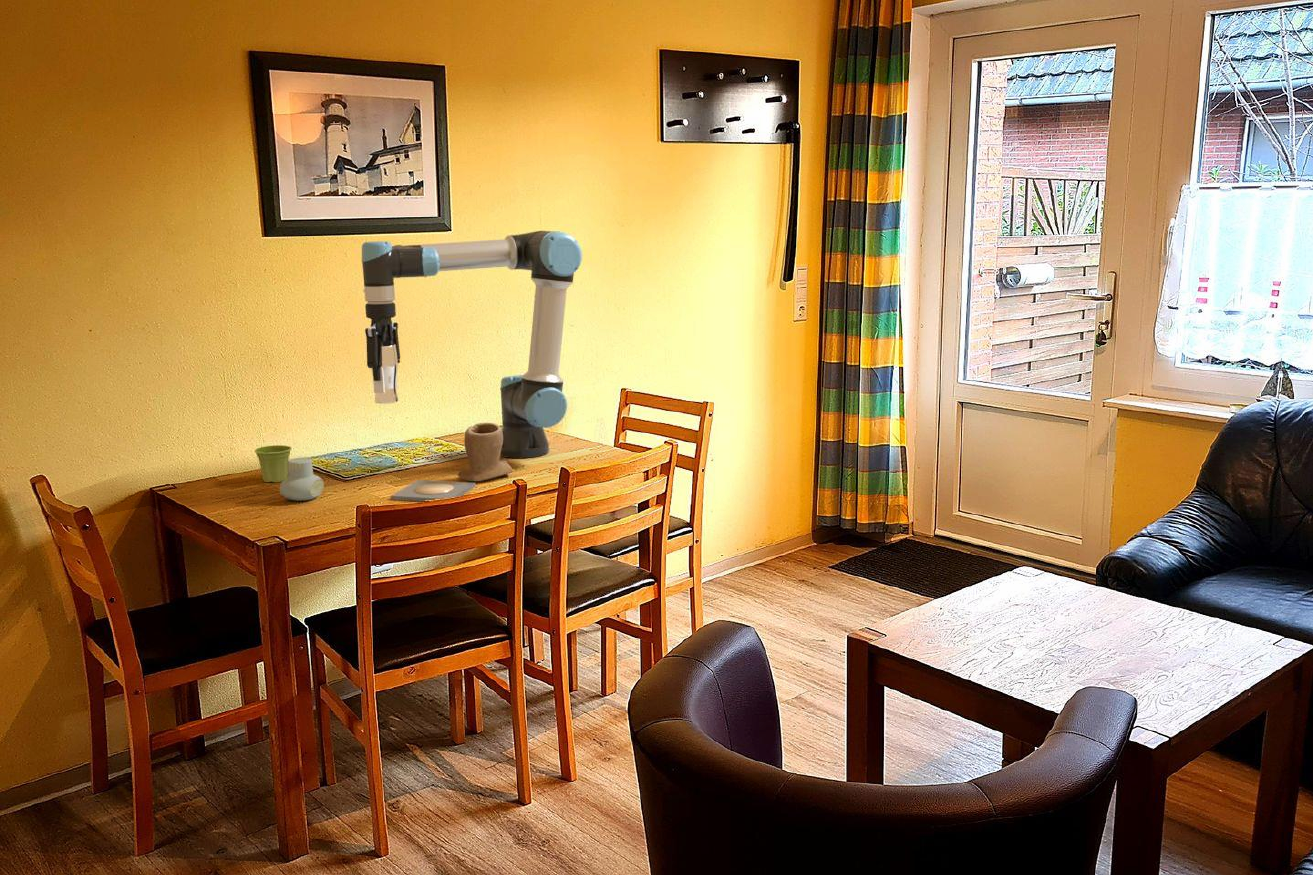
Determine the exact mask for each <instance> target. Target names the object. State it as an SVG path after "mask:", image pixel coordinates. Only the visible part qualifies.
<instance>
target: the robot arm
mask: <svg viewBox="0 0 1313 875" xmlns="http://www.w3.org/2000/svg"><path fill="white" fill-rule="evenodd" d="M582 259H583V254H582V248H581V246H580V244H579V241H577V240H576V238H575V237H574V236H572V235H571V234H569V233H566V232H562V231H551V230H550V231H549V230H537V231H531V232H526V233H520V234H511V235H507V236H505V238H504V239H490V240H472V241H458V242H455V241H454V242H442V243H441V242H439V243H429V244H428V243H423V244H410V245H401V244H396V245H393V246H392V243H391V242H390V241H388V240H387V241H386V240H381V241H380V240H377V241H375V240H374V241H365V242H363V243H362V245H361V264H362V275H363V293H364V301H365V302H367V303H365V307H364V308H365V317H366V318H367V319H370V320H371V321H370V327H369V328H368V327H367V328H365V330H364V334H365V339H366V366H367V367H368V369H371V368H372V369H373V375H372V379H373V380H372V383H373V393H374V394H375V393H385V385H384V370H383V368H381V365H382V346H391V345H392V343H394V344H396V351H397V359H398V364H400V362H401V352H400V341H399V332H398V328H399V324H398V322H393V321H392V318H395V317H396V315H397V313H396V312H397V311H396V310H397V308H396V303H395V302H394V301H396V294H395V282H394V279H399V278H401V279H402V278H421V277H422V278H427V277H434V276H437V274H438V273H439V272H447V271H448V272H449V271H460V270H461V271H463V270H464V271H465V270H476V269H477V270H478V269H489V268H491V269H492V268H508V270H511V271H513V270H524V271H531V276H530V279H531V281H532V282H533V284H534V285H535V291H534V301H533V302H534V303H533V314H532V322H531V323H532V324H531V334H530V345H529V356H528V368H527V369H528V370H527V371H526V372H525V373H524V374H520V375H519V374H517V375H511V376H505V377H502V378H501V380H500V389H499V390H500V401H501V402H500V404H501V420H502V427H501V429H502V432H503V445H502V448H501V453H500V457H504V458H511V459H512V458H513V459H522V458H523V459H524V458H525V459H526V458H527V459H528V458H535V457H541V456H544V455H547V454H548V453H549V452H550V444H549V440H548V438H547V435H546V432H545V429H549V428H552V427H554V426H556V425H558V424H559V423H560V422H561V421H562V420H563V419H564V417H565V416H566V413H567V410H568V402H567V398H566V396H565V394H564V393H563V388H564V387H563V386H564V380H563V378H562V377H561V375H560V373H559V372H560V371H559V370H560V369H559V368H560V363H561V351H562V342H563V341H562V340H563V330H564V322H565V321H564V320H565V310H566V308H565V307H566V301H567V300H566V299H567V290H568V288H569V287H570V286H571V285H573V283H574V277H575V273H576V272H577V271H578V269H579V268H580V266H581V264H582ZM398 386H399V384H398V378H397V379H396V389H398Z"/></svg>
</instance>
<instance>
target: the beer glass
mask: <svg viewBox="0 0 1313 875" xmlns="http://www.w3.org/2000/svg"><path fill="white" fill-rule="evenodd" d="M398 364H399V363H398V359H397V351H396V344H394V343H392V345H391V346H382V365H381V368H383V370H384V385H385V393H374V394H375V395H374V396H375V397H374V403H375V404H379V405H380V404H385V405H386V404H393V403H394V404H395V403H398V402H399V396H398V392H397V388H396V379H397V380H398V370H399V369H398V366H399V365H398ZM370 369H371V375H372V376H373V369H372V368H370Z"/></svg>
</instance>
